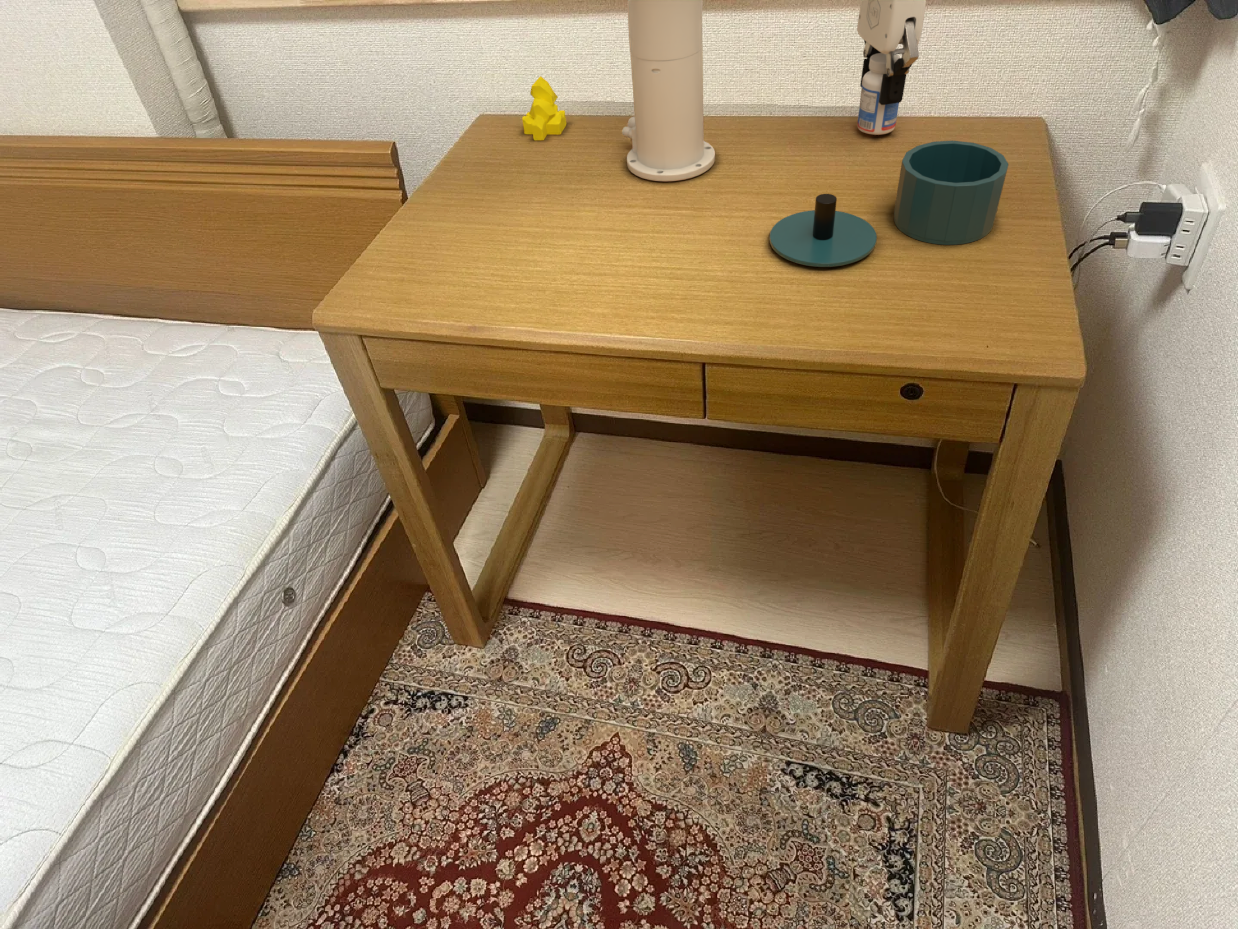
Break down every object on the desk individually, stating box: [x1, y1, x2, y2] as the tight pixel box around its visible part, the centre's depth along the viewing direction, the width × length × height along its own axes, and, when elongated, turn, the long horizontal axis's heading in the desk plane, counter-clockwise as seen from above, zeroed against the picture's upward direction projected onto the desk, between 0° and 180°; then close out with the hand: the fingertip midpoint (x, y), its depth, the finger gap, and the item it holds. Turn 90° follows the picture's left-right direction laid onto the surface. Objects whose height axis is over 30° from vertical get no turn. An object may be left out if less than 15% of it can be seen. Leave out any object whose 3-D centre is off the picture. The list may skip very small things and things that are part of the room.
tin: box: [893, 140, 1009, 246], centre depth 102 cm, size 12×12×8 cm
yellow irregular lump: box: [521, 75, 567, 141], centre depth 132 cm, size 6×8×8 cm
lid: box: [769, 193, 878, 268], centre depth 101 cm, size 13×13×6 cm
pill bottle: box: [857, 53, 901, 136], centre depth 120 cm, size 6×5×10 cm
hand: (880, 93), depth 120 cm, fingers closed on pill bottle, 5 cm apart
